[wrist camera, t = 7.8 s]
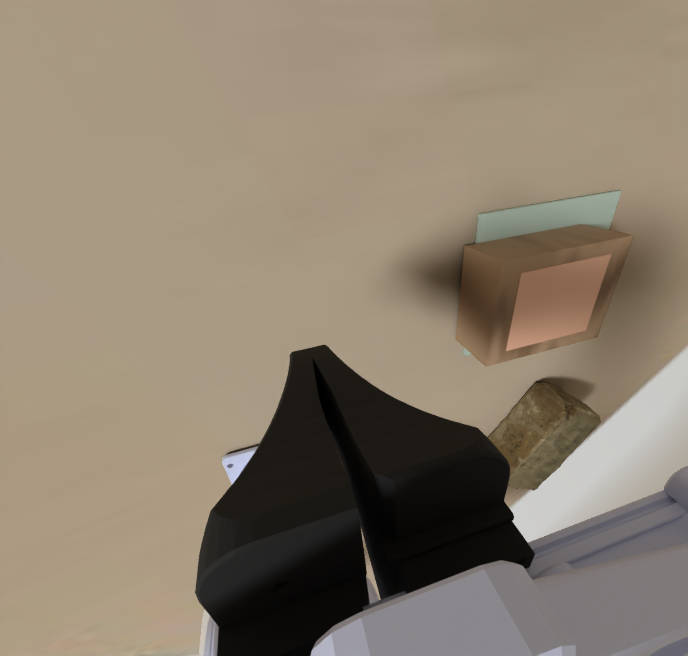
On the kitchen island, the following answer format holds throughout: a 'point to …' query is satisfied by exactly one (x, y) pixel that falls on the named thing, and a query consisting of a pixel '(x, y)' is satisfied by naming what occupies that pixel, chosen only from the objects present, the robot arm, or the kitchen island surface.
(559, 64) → the kitchen island surface
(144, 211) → the kitchen island surface
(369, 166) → the kitchen island surface
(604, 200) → the mat
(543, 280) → the walnut block
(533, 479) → the stone block
